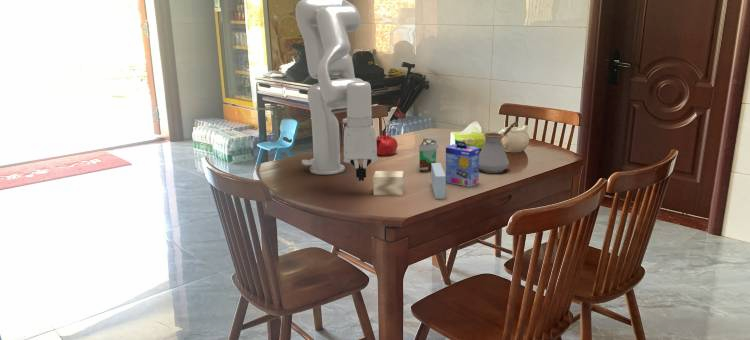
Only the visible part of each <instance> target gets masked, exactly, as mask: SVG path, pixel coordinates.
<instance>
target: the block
mask: <svg viewBox="0 0 750 340" xmlns="http://www.w3.org/2000/svg"><path fill="white" fill-rule="evenodd" d="M404 176H405V174H404V170H375V171H374V173H373V176H372V183H373V188H372V190H373V196H403V195H404V188H405V182H404V181H405V179H404Z"/></svg>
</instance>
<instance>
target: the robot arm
mask: <svg viewBox="0 0 750 340" xmlns="http://www.w3.org/2000/svg"><path fill="white" fill-rule="evenodd" d="M295 20H296V21H295V22H296V23H297V24H296V25H297V27H298V30H299V32H300V35H301V37H302V39H303V44H304V50H305V51H304V52H305V58H306V64H307V71H308V75H309V76H310V77H311V78H312V79H315V80H317V82H318V83H313V84H312V85H310V86H309V88H308V90H307V100H308V101H307V102H308V104H309V105H308V106H309V110H310V117H311V119H310V120H311V130H312V133H311V134H312V135H311V136H312V149H313V150H312V151H313V152H312V153H313V157H312V158H310V159H301V166H304V167H309V166H310V167H309V171H310V173H312V174H315V175H325V176H327V175H337V174H340V173H343V172H344V171H345V170H346V167H345V165H344V164H341V151H340V150H341V147H340V146H341V145H340V143H341V142H340V125H339V120H338V118H337V116H335V114H334V113H333V112H332V110H338V109H340V110H341V109H346V117H345V118H342V123H343V124H345V125H346V126H345V127H344V130H343V131H344V132H343V157H344V158H343V162H344V163H348V164H351V165H352V166H353V167H354V168H355V169H356V171H355V173H356V178H358V182H361V181H362V182H364V181H365V178H367V167H368V166H369V165H370V164H372V163H375V162H376V163H377V162H378V160H379V158H378V155H377V143H376V139H377V138H376V137H377V134H376V129H375V126H374V125H373V121H372V120H373V118H372V116H373V115H372V113H373V112H372V87H371V84H370V82H368V81H365V80H363V79H361V78H358V77H356V76H355V67H354V63H353V59H352V57H351V55H350V51H351V49H352V46H351V43H350V41H349V40H350V39H349V36H348V33H350V32H356V31H358V30H359V28H360V27H361V23H362V22H361V21H362V20H361V15H360V12H359V10H358V9H357V7H356V6H355V5H354V4H353V3H351V2H349V1H348V0H299V1H298V2H297V3H296V6H295ZM359 160H360V161H361V160H362V161H363V162H362V165H361V164H360V161H359Z"/></svg>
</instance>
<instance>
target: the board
mask: <svg viewBox="0 0 750 340" xmlns="http://www.w3.org/2000/svg"><path fill="white" fill-rule="evenodd" d="M430 172H431V173H430V174H431V175H430V176H431V177H430V180H431V181H430V183H431V188H432V191H433V195H434V198H435V200H436V199H437V200H440V199H443V200H444V199H446V190H447V189H446V186H447V185H446V183H447V182H446V172H445V171H444V168H443V166H442V163H441V162H436V163H431V171H430Z"/></svg>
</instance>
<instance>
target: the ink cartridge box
mask: <svg viewBox="0 0 750 340" xmlns="http://www.w3.org/2000/svg"><path fill="white" fill-rule="evenodd" d="M479 154H480V148H479V147H476V146H469V145H467V144H466V141H462V140H455V144H451V145H448V146H446V147H445V176H446V183H447V184H452V185H458V186H462V187H467V188H473V187H474V186H476V185H479V184H480V179H479V178H480V168H479Z"/></svg>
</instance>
